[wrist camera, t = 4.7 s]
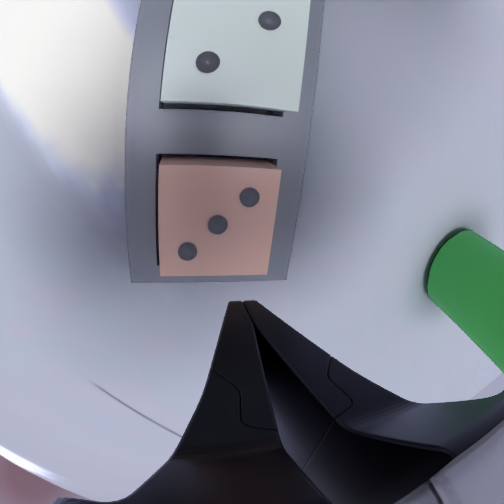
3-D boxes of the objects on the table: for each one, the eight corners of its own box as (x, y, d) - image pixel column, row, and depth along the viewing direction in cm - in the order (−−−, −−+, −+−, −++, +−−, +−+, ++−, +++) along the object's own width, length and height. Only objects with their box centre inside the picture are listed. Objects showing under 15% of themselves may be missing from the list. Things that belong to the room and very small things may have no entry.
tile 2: (289, 14, 12) (311, -3, 10) (278, 111, 15) (299, 112, 12) (178, 1, 11) (178, -22, 8) (164, 103, 13) (160, 101, 11)
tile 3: (265, 160, 17) (282, 170, 14) (255, 251, 20) (267, 275, 17) (162, 155, 16) (158, 165, 13) (162, 251, 18) (160, 277, 16)
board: (317, -77, 10) (328, -88, 8) (277, 265, 22) (285, 279, 20) (175, -97, 7) (176, -112, 6) (134, 266, 19) (131, 282, 17)
